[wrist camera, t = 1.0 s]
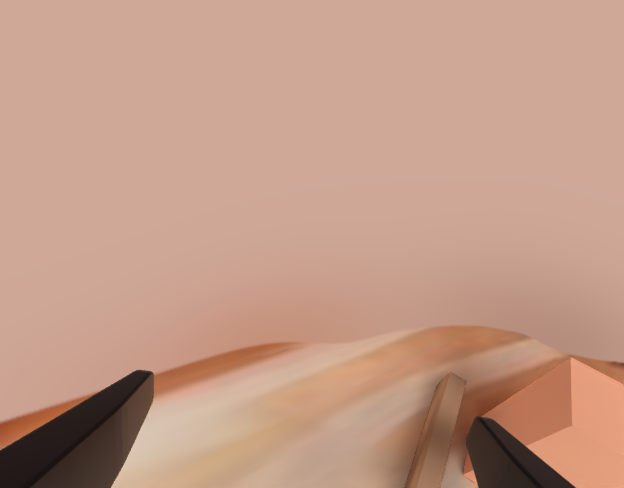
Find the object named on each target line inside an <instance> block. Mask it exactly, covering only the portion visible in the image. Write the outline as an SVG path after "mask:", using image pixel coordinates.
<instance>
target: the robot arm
mask: <svg viewBox="0 0 624 488" xmlns="http://www.w3.org/2000/svg"><path fill="white" fill-rule="evenodd" d="M153 398H154V374H153V372H151V371H145V370H136V371H134V372H132V373H131V374H129V375H127V376H126V377H124V378H122V379H121V380H119V381H117V382H115V383H114V384H112V385H110V386H109V387H107V388H105V389H104V390H102V391H100V392H98V393H97V394H95V395H93V396H92V397H90V398H88V399H87V400H85V401H83V402H81V403H80V404H78V405H76V406H75V407H73V408H71V409H70V410H68V411H66V412H64V413H63V414H61V415H59V416H58V417H56V418H54V419H53V420H51V421H49V422H47V423H46V424H44V425H42V426H41V427H39V428H37V429H36V430H34V431H32V432H31V433H29V434H27V435H25V436H24V437H22V438H20V439H19V440H17V441H15V442H14V443H12V444H10V445H8V446H7V447H5V448H3V449H2V450H0V488H111V486H112V484H113V483H114V481H115V479H116V477H117V476H118V474H119V472H120V470H121V468H122V467H123V465H124V463H125V461H126V459H127V457H128V454H129V452H130V450H131V448H132V446H133V444H134V442H135V439H136V437H137V435H138V433H139V431H140V429H141V426H142V424H143V422H144V420H145V418H146V416H147V413H148V411H149V409H150V407H151V405H152V402H153ZM466 446H467V450H468V453H469V457H470V460H471V464H472V467H473V470H474V474H475V477H476V481H477V484H478V487H479V488H576V487H575V486H573V485H572V484H571V483H570V482H569V481H567V480H566V479H565V478H564V477H562V476H561V475H560V474H559V473H558V472H556V471H555V470H554V469H553V468H552V467H550V466H549V465H548V464H547V463H546V462H544V461H543V460H542V459H541V458H539V457H538V456H537V455H536V454H535V453H533V452H532V451H531V450H530V449H529V448H527V447H526V446H525V445H524V444H522V443H521V442H520V441H519V440H518V439H516V438H515V437H514V436H513V435H512V434H510V433H509V432H508V431H507V430H505V429H504V428H503V427H502V426H501V425H499V424H498V423H497V422H496V421H495V420H493V419H491V418H488V417H481V416H477V417H476V418H474V420H473V423H472V425H471V428H470V430H469V432H468V435H467V438H466Z"/></svg>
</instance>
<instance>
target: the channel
mask: <svg viewBox="0 0 624 488" xmlns="http://www.w3.org/2000/svg"><path fill="white" fill-rule="evenodd" d="M465 385H466V381H465V380H463V379H461V378H460V377H458V376H456V375H455V374H453V373H451V372H450V373H449V374H448V375H447V376H446V377H445V378H444V379H443V380H442V381H441V382H440V383H439V384H438V385H437V388H436V391H435V394H434V397H433V400H432V403H431V406H430V410H429V413H428V416H427V419H426V422H425V425H424V428H423V432H422V435H421V438H420V441H419V444H418V447H417V450H416V454H415V457H414V460H413V463H412V466H411V469H410V472H409V475H408V479H407V482H406V485H405V488H440V486H441V482H442V478H443V474H444V470H445V466H446V462H447V458H448V454H449V449H450V445H451V441H452V437H453V433H454V429H455V425H456V421H457V417H458V413H459V409H460V405H461V401H462V397H463V393H464V389H465Z"/></svg>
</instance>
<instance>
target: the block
mask: <svg viewBox="0 0 624 488" xmlns="http://www.w3.org/2000/svg"><path fill="white" fill-rule="evenodd" d="M481 417H488V418H491V419H493V420H495V421H496V422H497V423H498V424H499V425H501V426H502V427H503V428H504V429H505V430H507V431H508V432H509V433H510V434H512V435H513V436H514V437H515V438H516V439H518V440H519V441H520V442H521V443H522V444H524V445H525V446H526V447H527V448H529V449H530V450H531V451H532V452H533V453H535V454H536V455H537V456H538V457H539V458H541V459H542V460H543V461H544V462H546V463H547V464H548V465H549V466H550V467H552V468H553V469H554V470H555V471H556V472H558V473H559V474H560V475H561V476H562V477H564V478H565V479H566V480H567V481H569V482H570V483H571V484H572V485H573V486H575V487H576V488H624V385H623V384H621V383H620V382H618V381H616V380H614V379H612V378H610V377H608V376H606V375H604V374H602V373H600V372H598V371H596V370H595V369H593V368H591V367H589V366H587V365H585V364H583V363H581V362H579V361H577V360H575V359H573V358H571V357H570V358H568V359H567V360H565V361H564V362H562V363H561V364H559V365H558V366H556V367H555V368H553V369H552V370H550V371H549V372H547V373H546V374H544V375H543V376H541V377H540V378H538V379H537V380H535V381H534V382H532V383H531V384H529V385H528V386H526V387H525V388H523V389H522V390H520V391H519V392H517V393H516V394H514V395H513V396H511V397H510V398H508V399H507V400H505V401H504V402H502V403H501V404H499V405H498V406H496V407H495V408H493V409H492V410H490V411H489V412H487V413H486V414H484V415H483V416H481ZM463 475H464V476H465V477H467V478H468V479H470V480H471V481H473V482H474V483H475V484H477V481H476V477H475V474H474V470H473V467H472V464H471V460H470V457H469V453H468V451H467V456H466V461H465V466H464V471H463ZM477 485H478V484H477Z"/></svg>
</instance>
